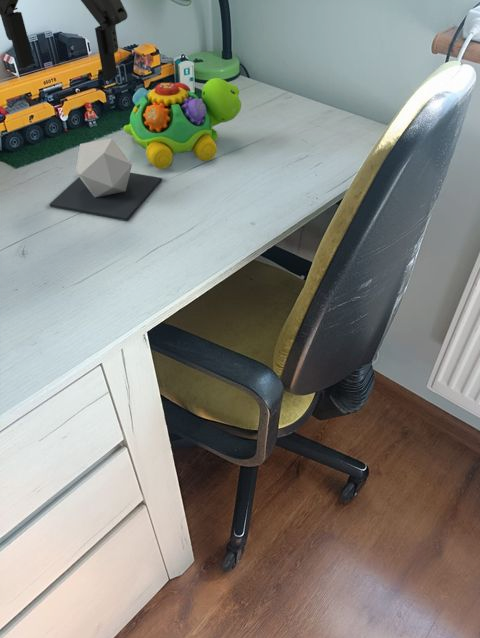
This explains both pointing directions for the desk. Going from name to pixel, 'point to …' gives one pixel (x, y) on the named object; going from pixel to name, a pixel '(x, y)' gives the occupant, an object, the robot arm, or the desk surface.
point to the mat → (108, 198)
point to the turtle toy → (181, 119)
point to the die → (103, 167)
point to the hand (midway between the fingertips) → (68, 71)
